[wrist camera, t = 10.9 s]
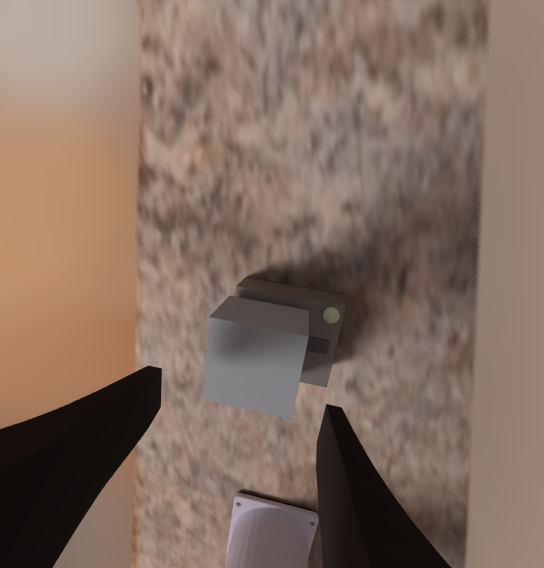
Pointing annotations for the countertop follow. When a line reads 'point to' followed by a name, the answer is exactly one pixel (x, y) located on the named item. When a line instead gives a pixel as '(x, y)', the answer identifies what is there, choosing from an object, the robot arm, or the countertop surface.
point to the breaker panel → (322, 321)
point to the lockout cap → (255, 355)
